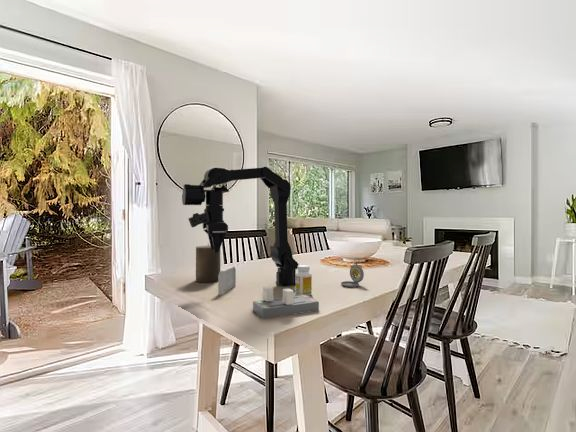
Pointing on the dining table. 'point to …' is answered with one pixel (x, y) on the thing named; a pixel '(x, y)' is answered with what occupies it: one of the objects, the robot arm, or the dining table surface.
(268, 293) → the block
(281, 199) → the robot arm
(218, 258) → the pillar candle
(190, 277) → the dining table surface
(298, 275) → the supplement bottle
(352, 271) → the pocket watch
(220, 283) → the light switch
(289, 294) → the block
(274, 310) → the panel
